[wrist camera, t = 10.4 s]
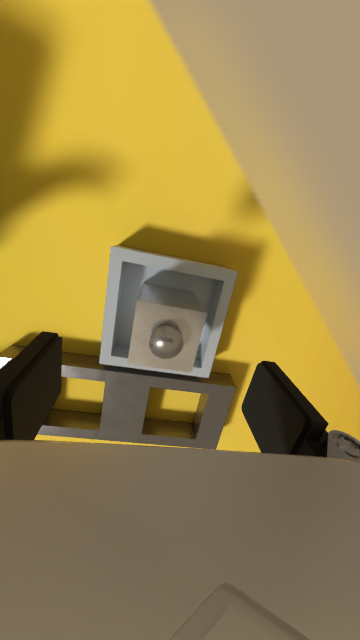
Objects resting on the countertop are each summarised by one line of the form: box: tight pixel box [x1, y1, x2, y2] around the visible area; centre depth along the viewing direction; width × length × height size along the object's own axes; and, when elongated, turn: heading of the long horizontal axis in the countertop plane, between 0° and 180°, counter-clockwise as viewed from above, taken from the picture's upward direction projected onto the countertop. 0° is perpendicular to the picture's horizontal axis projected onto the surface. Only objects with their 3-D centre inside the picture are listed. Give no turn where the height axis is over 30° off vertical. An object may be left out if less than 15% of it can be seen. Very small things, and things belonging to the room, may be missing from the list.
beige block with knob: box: [127, 282, 207, 373], centre depth 20 cm, size 5×5×8 cm
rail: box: [0, 345, 236, 450], centre depth 26 cm, size 24×9×2 cm, turn 79°
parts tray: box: [99, 245, 238, 378], centre depth 23 cm, size 11×11×3 cm
